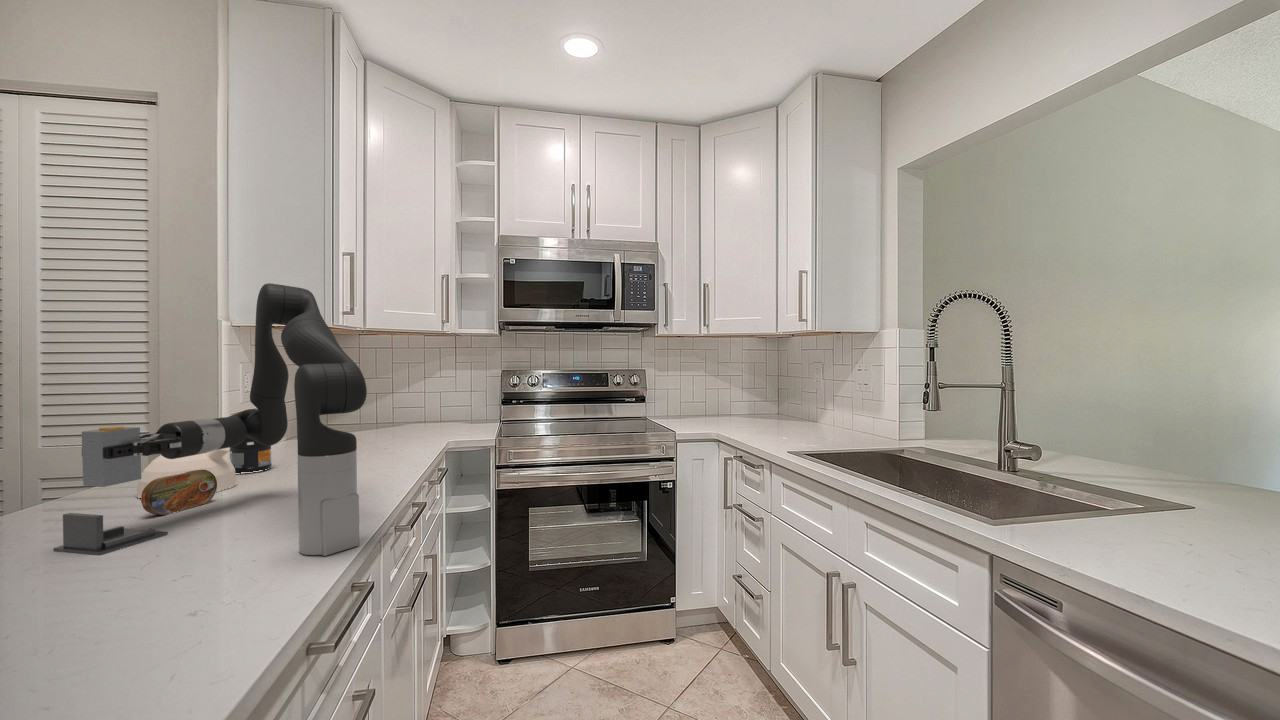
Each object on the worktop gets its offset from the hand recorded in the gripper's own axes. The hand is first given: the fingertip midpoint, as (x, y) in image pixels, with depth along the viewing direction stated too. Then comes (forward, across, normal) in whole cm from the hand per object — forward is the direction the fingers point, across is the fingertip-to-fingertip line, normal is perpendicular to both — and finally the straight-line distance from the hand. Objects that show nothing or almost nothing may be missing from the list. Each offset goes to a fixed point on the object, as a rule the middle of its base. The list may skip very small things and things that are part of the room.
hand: (95, 452), depth 97 cm
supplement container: (-59, -34, +18) cm, 70 cm away
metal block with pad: (-3, 0, +6) cm, 7 cm away
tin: (-22, -11, +18) cm, 31 cm away
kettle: (-37, -28, +18) cm, 50 cm away
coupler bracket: (-2, 0, +17) cm, 18 cm away
